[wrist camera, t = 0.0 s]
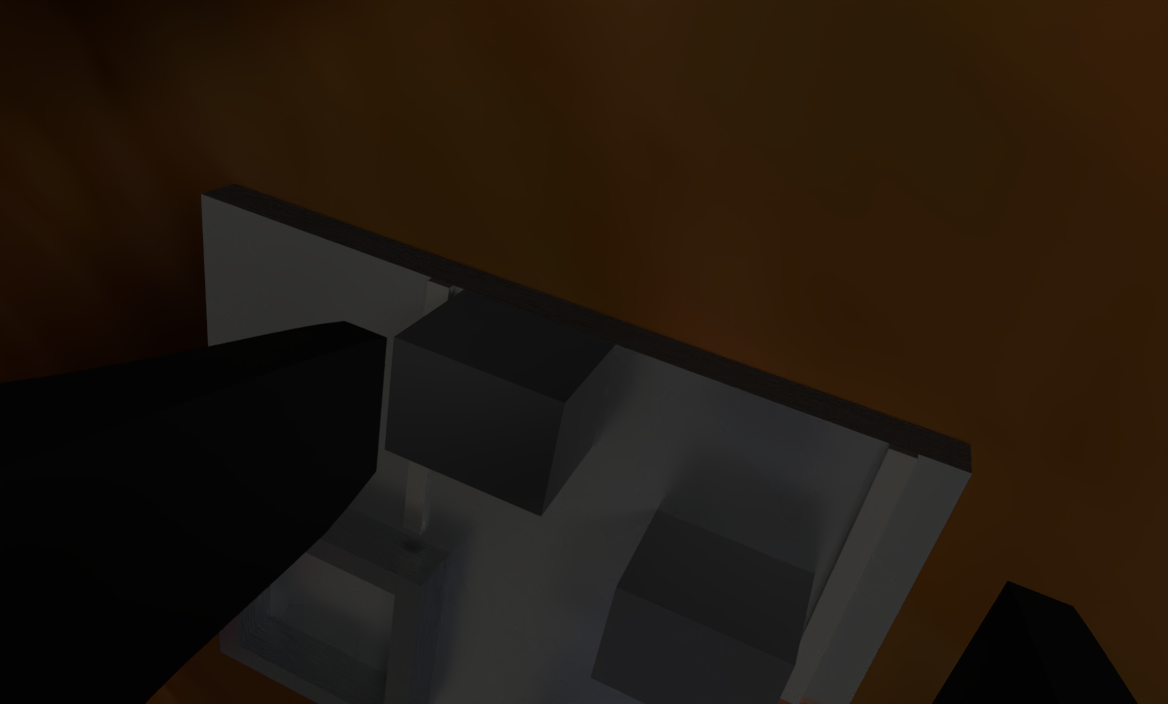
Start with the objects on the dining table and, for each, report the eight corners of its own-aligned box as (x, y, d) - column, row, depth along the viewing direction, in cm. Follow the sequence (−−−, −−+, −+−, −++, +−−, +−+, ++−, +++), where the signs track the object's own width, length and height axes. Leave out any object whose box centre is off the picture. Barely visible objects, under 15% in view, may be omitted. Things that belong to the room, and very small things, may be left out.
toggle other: (591, 447, 20) (541, 517, 18) (450, 391, 21) (384, 449, 19) (615, 344, 19) (564, 403, 16) (464, 289, 20) (393, 337, 17)
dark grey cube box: (777, 659, 21) (753, 755, 18) (631, 594, 22) (590, 677, 19) (814, 574, 19) (795, 665, 17) (657, 509, 20) (616, 587, 18)
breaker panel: (741, 885, 27) (722, 971, 24) (245, 628, 32) (191, 680, 29) (970, 444, 18) (974, 514, 16) (234, 183, 23) (155, 207, 21)
